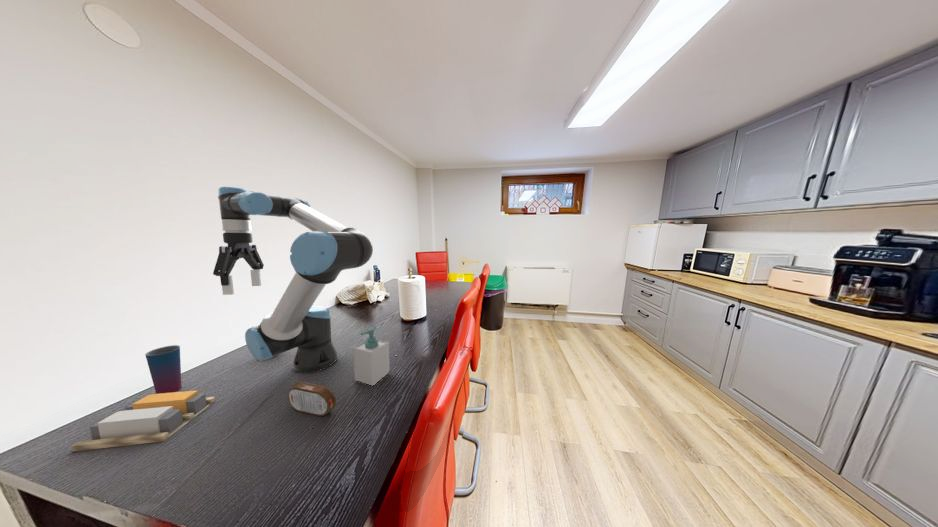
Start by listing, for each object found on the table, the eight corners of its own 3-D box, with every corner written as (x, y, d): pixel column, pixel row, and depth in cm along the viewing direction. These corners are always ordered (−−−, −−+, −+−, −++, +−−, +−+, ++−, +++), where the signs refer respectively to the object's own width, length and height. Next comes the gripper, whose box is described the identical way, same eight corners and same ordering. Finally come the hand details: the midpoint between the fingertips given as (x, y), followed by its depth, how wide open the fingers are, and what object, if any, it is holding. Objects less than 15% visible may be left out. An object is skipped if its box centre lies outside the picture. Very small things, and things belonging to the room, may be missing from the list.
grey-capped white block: (184, 421, 65) (181, 405, 65) (168, 433, 61) (166, 416, 61) (111, 429, 62) (108, 412, 62) (90, 442, 59) (87, 424, 58)
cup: (162, 402, 74) (154, 356, 72) (146, 398, 75) (139, 354, 73) (191, 388, 80) (185, 346, 79) (176, 385, 82) (170, 344, 80)
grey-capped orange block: (126, 421, 65) (123, 404, 64) (143, 410, 69) (140, 395, 68) (195, 414, 68) (192, 398, 67) (207, 405, 72) (205, 389, 71)
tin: (337, 412, 71) (335, 386, 70) (328, 420, 68) (327, 393, 67) (296, 403, 74) (294, 378, 73) (286, 410, 71) (284, 384, 70)
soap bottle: (354, 381, 85) (351, 331, 83) (372, 368, 94) (370, 322, 91) (372, 387, 82) (370, 335, 80) (389, 373, 90) (388, 326, 88)
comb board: (215, 403, 74) (214, 396, 73) (164, 443, 59) (163, 435, 59) (145, 409, 71) (144, 402, 70) (73, 454, 56) (71, 445, 56)
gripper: (250, 232, 97) (255, 283, 99) (191, 231, 72) (199, 299, 75) (271, 232, 98) (276, 282, 101) (219, 232, 74) (227, 298, 76)
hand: (243, 289), depth 88 cm, fingers open, 13 cm apart
